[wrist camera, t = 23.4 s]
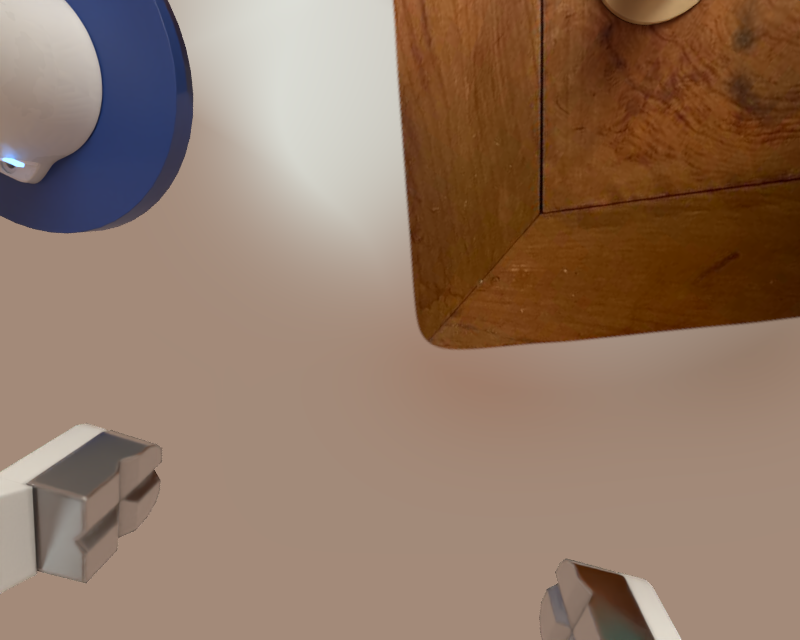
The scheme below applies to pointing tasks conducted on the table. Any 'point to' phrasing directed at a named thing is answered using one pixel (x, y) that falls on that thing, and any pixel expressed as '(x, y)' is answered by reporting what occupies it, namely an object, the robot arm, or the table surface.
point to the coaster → (648, 10)
